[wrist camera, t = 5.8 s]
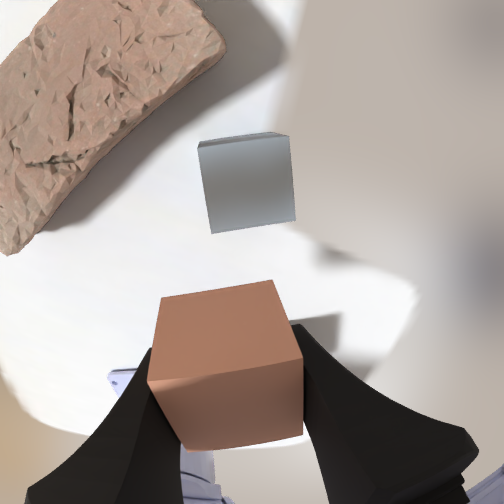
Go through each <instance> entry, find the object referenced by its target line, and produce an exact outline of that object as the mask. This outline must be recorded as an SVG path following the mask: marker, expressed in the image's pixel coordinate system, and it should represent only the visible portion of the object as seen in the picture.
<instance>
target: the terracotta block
mask: <svg viewBox="0 0 504 504" xmlns="http://www.w3.org/2000/svg"><path fill="white" fill-rule="evenodd" d="M147 383H148V385H149V387H150V389H151V390H152V392H153V394H154V396H155V398H156V400H157V402H158V404H159V405H160V407H161V409H162V411H163V412H164V414H165V416H166V418H167V420H168V421H169V423H170V425H171V426H172V428H173V430H174V431H175V433H176V435H177V436H178V438H179V440H180V441H181V443H182V444H183V446H184V448H185V449H186V451H187V452H201V451H211V450H220V449H228V448H236V447H243V446H249V445H255V444H261V443H267V442H272V441H277V440H282V439H287V438H291V437H296V436H300V435H303V356H302V354H301V351H300V348H299V346H298V343H297V341H296V338H295V336H294V333H293V331H292V328H291V326H290V323H289V320H288V318H287V315H286V313H285V310H284V308H283V305H282V303H281V300H280V298H279V295H278V293H277V290H276V288H275V285H274V283H273V280H267V281H262V282H256V283H250V284H244V285H238V286H233V287H227V288H220V289H214V290H208V291H202V292H196V293H189V294H183V295H176V296H170V297H163V298H161V302H160V307H159V312H158V318H157V323H156V328H155V334H154V340H153V345H152V351H151V358H150V364H149V370H148V377H147Z"/></svg>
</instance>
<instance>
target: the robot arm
mask: <svg viewBox="0 0 504 504" xmlns="http://www.w3.org/2000/svg"><path fill="white" fill-rule="evenodd" d="M291 328H292V331H293V333H294V336H295V338H296V341H297V343H298V346H299V348H300V351H301V354H302V356H303V421H304V423H305V426H306V428H307V431H308V433H309V436H310V438H311V441H312V443H313V446H314V449H315V452H316V456H317V459H318V463H319V466H320V469H321V474H322V477H323V481H324V485H325V489H326V492H327V496H328V500H329V504H504V464H503V465H502V466H501V467H500V468H499V469H498V470H496V471H495V472H494V473H492V474H491V475H490V476H488V477H487V478H485V479H484V480H483V481H481V482H480V483H478V484H477V485H475V486H474V487H473V488H471V489H469V490H468V491H466V492H465V490H464V488H463V487H462V484H463V483H464V481H465V480H464V478H463V476H462V475H461V473H462V472H463V471H464V470H465V469H466V468H467V467H468V466H469V465H470V464H471V462H473V461H474V459H475V458H476V457H477V455H478V453H479V449H478V447H477V446H476V444H475V443H474V441H473V439H472V438H471V436H470V435H469V434H468V433H467V432H466V430H465V429H464V428H462V427H459V426H455V425H452V424H448V423H445V422H441V421H438V420H435V419H432V418H430V417H427V416H425V415H422V414H420V413H417V412H415V411H413V410H411V409H409V408H407V407H405V406H403V405H401V404H399V403H397V402H395V401H393V400H391V399H389V398H388V397H386V396H384V395H383V394H381V393H379V392H378V391H376V390H375V389H373V388H372V387H370V386H369V385H367V384H366V383H364V382H363V381H362V380H360V379H359V378H357V377H356V376H355V375H354V374H352V373H351V372H350V371H349V370H347V369H346V368H345V367H344V366H343V365H341V364H340V363H339V362H338V361H337V360H336V359H335V358H334V357H332V356H331V355H330V354H329V353H328V352H327V351H326V350H325V349H324V348H323V347H322V346H321V345H320V344H319V343H318V342H317V341H316V340H315V339H314V338H313V337H312V336H311V335H310V334H309V332H308V331H307V330H306V329H305V328H304V327H303V326H302V325H301V324H296V325H291ZM151 351H152V348H149V350H148V351H147V353H146V354H145V356H144V358H143V360H142V361H141V363H140V365H139V367H138V368H137V370H134V371H121V372H109V373H108V375H107V379H108V381H109V383H110V384H111V386H112V388H113V389H114V391H115V392H116V394H117V396H118V397H119V399H118V401H117V402H116V403H115V405H114V406H113V408H112V409H111V411H110V412H109V414H108V415H107V416H106V418H105V419H104V420H103V422H102V423H101V424H100V425H99V427H98V428H97V429H96V430H95V431H94V433H93V434H92V435H91V436H90V437H89V438H88V439H87V440H86V441H85V443H84V444H82V445H81V447H80V448H79V449H78V450H77V451H76V452H75V453H74V454H73V455H71V456H70V457H69V458H68V459H67V460H66V461H65V462H64V463H63V464H61V465H60V466H59V467H57V468H56V469H55V470H54V471H52V472H51V473H50V474H48V475H47V476H46V477H44V478H43V479H41V480H40V481H38V482H37V483H35V484H34V485H32V486H30V487H29V488H28V490H27V494H26V499H25V503H24V504H235V503H234V502H233V500H232V499H230V498H229V497H226V496H222V495H221V487H220V485H219V484H214V483H215V470H214V458H213V450H211V451H201V452H187V451H186V449H185V448H184V446H183V444H182V443H181V441H180V440H179V438H178V436H177V435H176V433H175V431H174V430H173V428H172V426H171V425H170V423H169V421H168V420H167V418H166V416H165V414H164V412H163V411H162V409H161V407H160V405H159V404H158V402H157V400H156V398H155V396H154V394H153V392H152V390H151V389H150V387H149V385H148V383H147V377H148V370H149V364H150V358H151ZM115 381H116V382H115Z"/></svg>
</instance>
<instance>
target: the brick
mask: <svg viewBox="0 0 504 504" xmlns="http://www.w3.org/2000/svg"><path fill="white" fill-rule="evenodd" d="M225 53H226V43H225V40H224V38H223V36H222V35H221V34H220V33H219V31H218V30H217V29H216V28H215V26H214V25H213V24H212V23H210V22H209V21H208V20H207V19H206V18H205V17H204V13H203V11H202V9H201V8H200V7H199V6H198V5H197V4H196V3H195V2H194V1H193V0H58V1H57V2H56V3H55V4H54V5H53V6H52V7H51V8H50V9H49V11H48V12H47V14H46V15H45V16H43V17H42V18H41V19H40V20H39V21H38V23H37V24H36V25H35V26H34V28H33V30H32V32H31V33H30V35H29V36H28V37H27V38H25V39H24V40H22V41H21V42H20V43H19V44H18V45H17V46H16V47H15V49H14V50H13V51H12V52H11V53H10V54H9V55H8V56H7V58H6V59H5V60H4V61H3V62H2V64H1V65H0V252H2V253H3V254H5V255H6V256H9V255H12V254H16V253H19V252H20V251H21V250H22V249H23V248H24V246H25V245H27V244H28V243H29V242H30V241H31V240H32V239H33V237H34V235H35V234H36V233H37V232H39V231H40V230H41V229H42V227H43V226H44V225H45V224H46V223H47V222H48V221H49V220H50V218H51V217H52V215H53V214H54V213H55V211H56V210H57V209H58V207H59V206H60V204H61V203H62V202H63V201H64V200H65V199H66V197H67V196H68V195H69V193H70V192H71V191H72V190H73V189H74V188H75V187H76V186H77V185H78V184H79V183H80V182H81V181H82V180H84V179H85V178H86V177H87V175H88V173H89V172H90V170H91V169H92V167H94V166H95V165H96V164H97V162H98V161H99V160H100V159H101V158H103V157H104V156H106V155H107V154H108V153H109V152H110V151H111V150H112V149H113V147H114V146H115V145H116V144H117V143H119V142H120V141H121V140H122V139H123V138H124V137H125V136H127V135H128V134H129V133H130V132H131V131H132V130H133V129H134V128H135V127H136V126H137V125H138V124H140V123H141V122H142V121H143V120H145V119H146V118H147V117H148V116H149V115H151V113H152V112H153V111H154V110H155V109H156V108H158V107H159V106H160V105H161V104H162V103H164V102H165V101H166V100H167V99H169V98H171V97H172V96H173V95H174V94H175V93H177V92H178V91H179V90H181V89H182V88H183V87H185V86H186V85H187V84H188V83H190V82H191V81H192V80H193V79H195V78H196V77H197V76H199V75H200V74H202V73H204V72H205V71H206V70H208V69H209V68H211V67H212V66H214V65H215V64H216V63H217V62H218V61H219V60H220V59H221V58H222V57H223V56H224V54H225Z"/></svg>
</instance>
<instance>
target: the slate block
mask: <svg viewBox="0 0 504 504" xmlns="http://www.w3.org/2000/svg"><path fill="white" fill-rule="evenodd" d="M197 150H198V156H199V162H200V169H201V175H202V181H203V187H204V193H205V199H206V205H207V211H208V217H209V223H210V228H211V234H214V233H220V232H227V231H233V230H239V229H245V228H251V227H258V226H264V225H270V224H277V223H283V222H290V221H295V220H296V218H295V203H294V191H293V177H292V166H291V154H290V144H289V136H286V135H281V134H277V133H273V132H268V133H259V134H250V135H242V136H235V137H227V138H220V139H214V140H208V141H201V142H199V145H198V148H197Z"/></svg>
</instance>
